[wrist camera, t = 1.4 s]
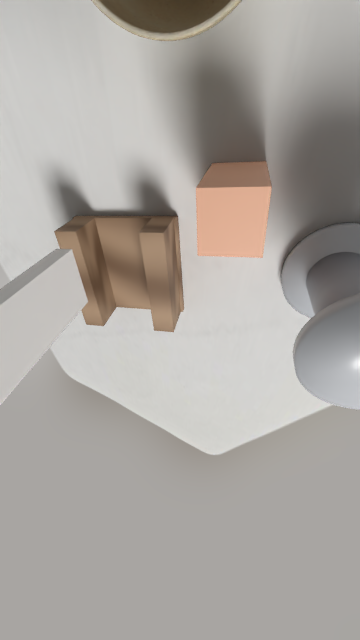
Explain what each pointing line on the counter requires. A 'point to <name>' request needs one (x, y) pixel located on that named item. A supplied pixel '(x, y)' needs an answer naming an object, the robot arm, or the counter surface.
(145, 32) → the flower pot
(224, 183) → the peach rectangular block
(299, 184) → the counter surface
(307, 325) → the bobbin
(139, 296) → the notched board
